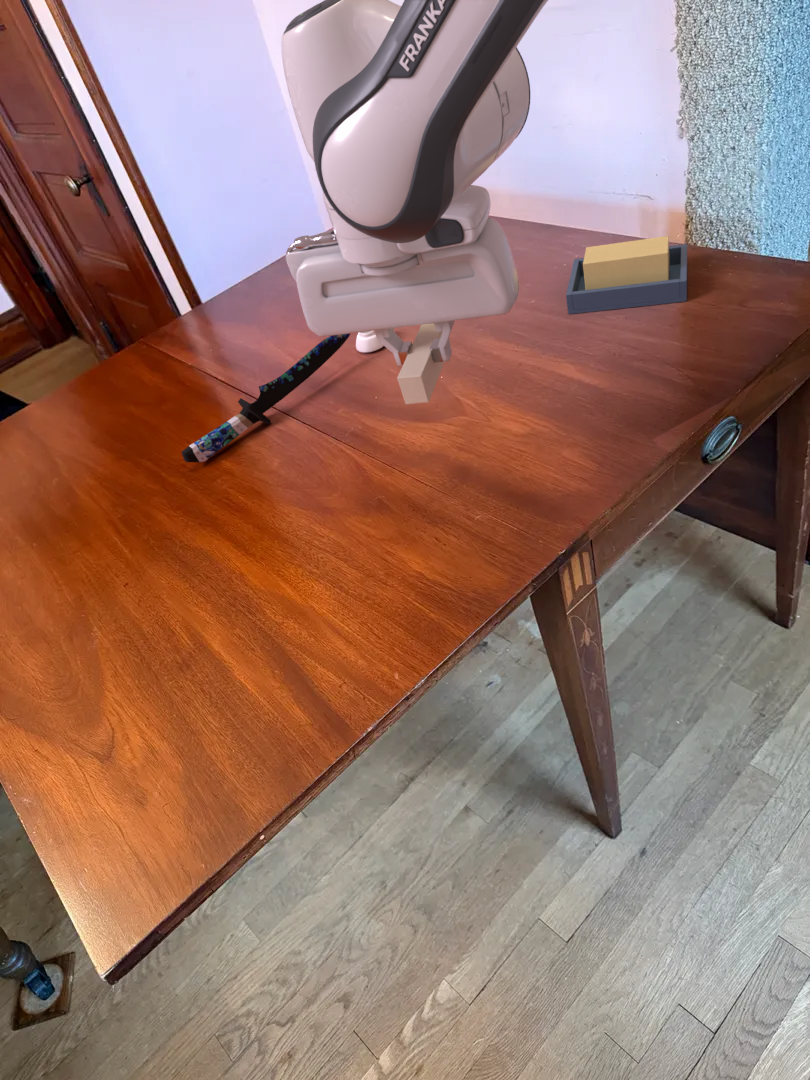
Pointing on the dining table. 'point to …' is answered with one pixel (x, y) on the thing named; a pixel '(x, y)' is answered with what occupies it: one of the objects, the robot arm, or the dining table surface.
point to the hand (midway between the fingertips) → (425, 360)
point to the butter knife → (420, 367)
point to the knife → (263, 401)
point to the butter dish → (629, 288)
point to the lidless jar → (367, 342)
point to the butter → (626, 263)
